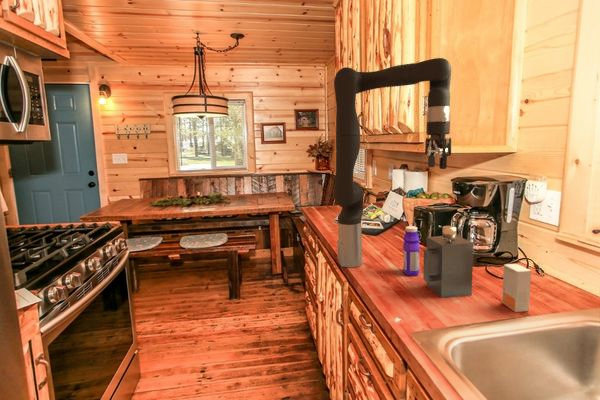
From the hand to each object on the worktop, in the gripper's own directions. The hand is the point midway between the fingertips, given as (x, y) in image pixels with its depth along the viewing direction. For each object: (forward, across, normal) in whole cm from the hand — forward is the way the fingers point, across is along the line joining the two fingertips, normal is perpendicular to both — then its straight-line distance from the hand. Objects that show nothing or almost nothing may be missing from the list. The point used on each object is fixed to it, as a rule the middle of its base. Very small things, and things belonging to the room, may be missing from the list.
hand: (436, 167), depth 126 cm
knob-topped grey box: (+38, +16, -4) cm, 42 cm away
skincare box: (+38, +30, +10) cm, 50 cm away
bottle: (+39, -2, -8) cm, 40 cm away
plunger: (+37, +15, -3) cm, 40 cm away
